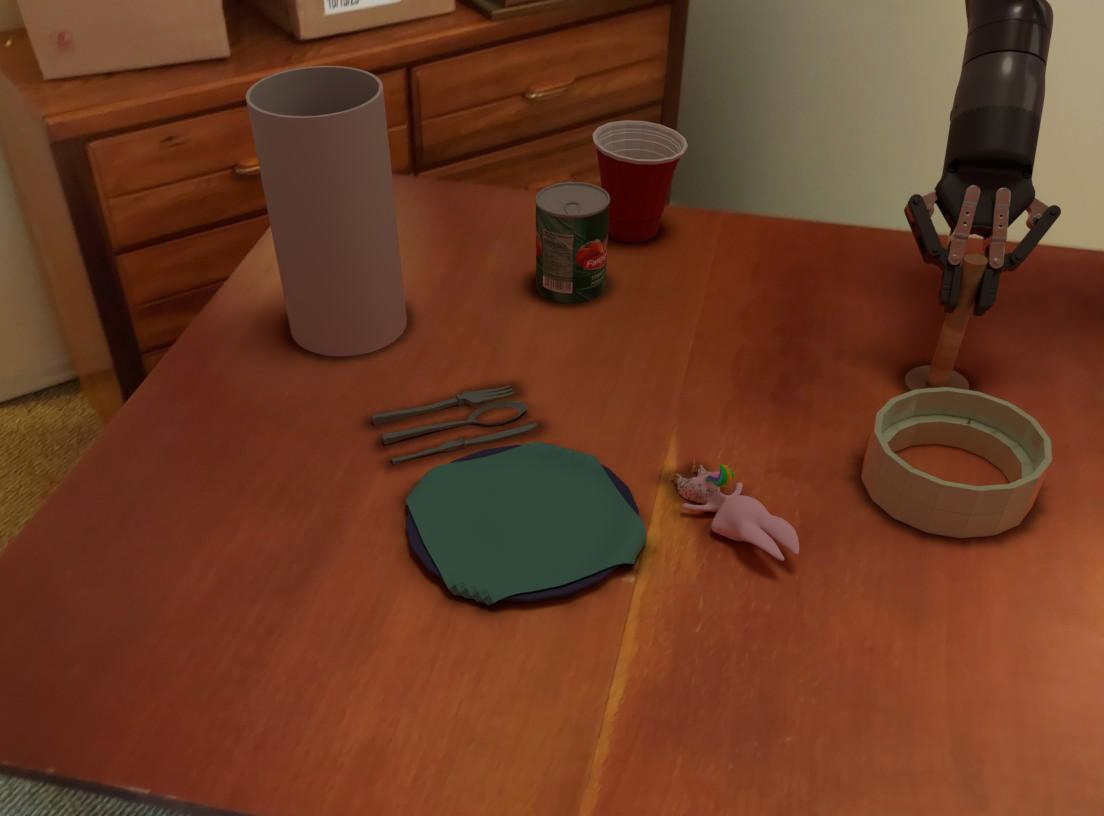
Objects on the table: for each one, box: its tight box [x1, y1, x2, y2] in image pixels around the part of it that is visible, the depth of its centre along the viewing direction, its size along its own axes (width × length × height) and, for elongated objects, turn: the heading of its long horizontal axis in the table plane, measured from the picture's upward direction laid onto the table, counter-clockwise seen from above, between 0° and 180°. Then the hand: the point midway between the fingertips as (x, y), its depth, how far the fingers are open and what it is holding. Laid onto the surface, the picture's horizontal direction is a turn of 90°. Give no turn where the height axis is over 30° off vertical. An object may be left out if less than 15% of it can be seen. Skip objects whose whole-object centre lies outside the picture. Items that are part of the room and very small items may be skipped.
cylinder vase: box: [245, 65, 408, 357], centre depth 106 cm, size 12×12×25 cm
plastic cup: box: [592, 119, 689, 243], centre depth 124 cm, size 11×11×12 cm
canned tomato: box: [534, 181, 610, 305], centre depth 116 cm, size 8×8×11 cm
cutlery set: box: [371, 384, 647, 606], centre depth 94 cm, size 20×30×2 cm, turn 20°
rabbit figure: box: [668, 459, 800, 562], centre depth 89 cm, size 6×6×15 cm
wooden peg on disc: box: [904, 253, 988, 391], centre depth 100 cm, size 6×6×14 cm
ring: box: [860, 387, 1053, 539], centre depth 92 cm, size 14×14×6 cm
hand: (964, 311), depth 96 cm, fingers closed on wooden peg on disc, 2 cm apart
